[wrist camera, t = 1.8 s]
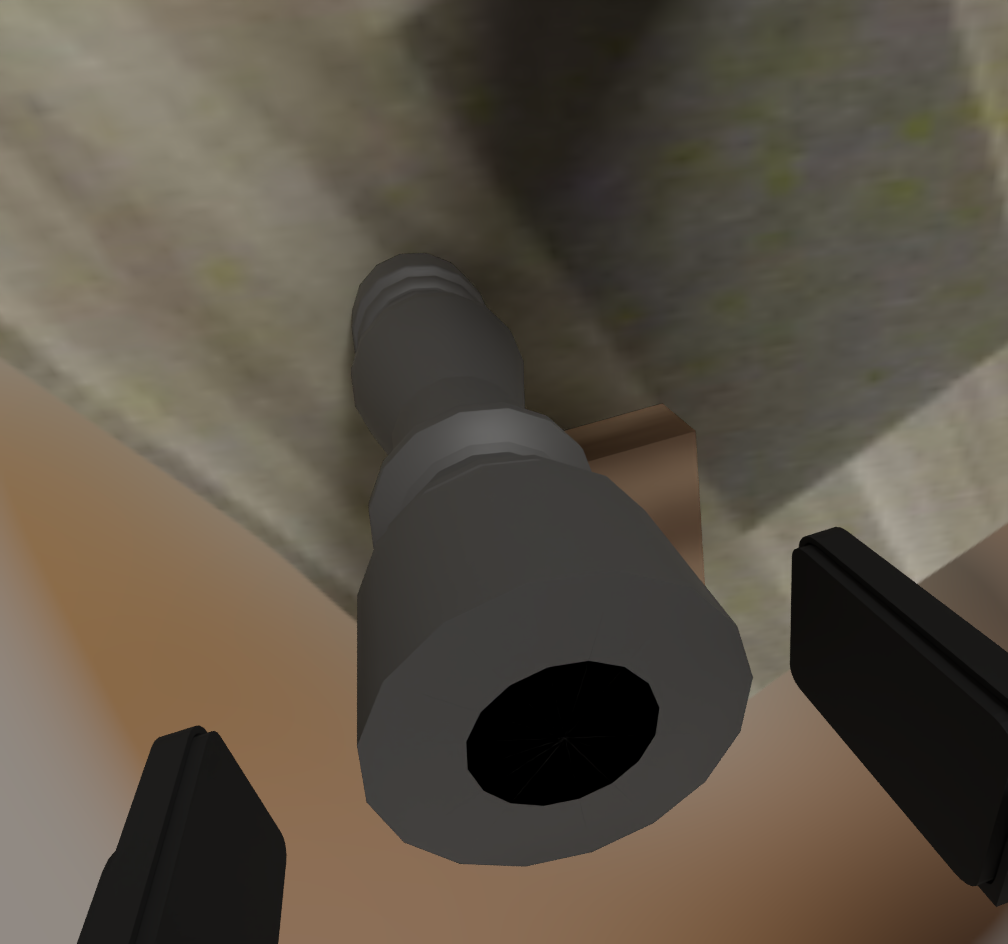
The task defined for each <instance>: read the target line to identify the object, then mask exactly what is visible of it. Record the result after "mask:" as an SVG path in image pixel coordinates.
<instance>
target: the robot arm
mask: <svg viewBox="0 0 1008 944" xmlns="http://www.w3.org/2000/svg"><path fill="white" fill-rule="evenodd" d="M790 669H791V673H792V676H793V678H794V680H795V682H796V683H797V685H798V687H799V688H800V690H801V691H802V692H803V693H804V694H805V695H806V697H807V698H808V699H809V700H810V701H811V703H812V704H813V705H814V706H815V707H816V709H817V710H818V711H819V712H820V713H821V715H822V716H823V717H824V718H825V719H826V721H827V722H828V723H829V724H830V725H831V726H832V728H833V729H834V730H835V731H836V732H837V733H838V735H839V736H840V737H841V738H842V740H843V741H844V742H845V743H846V744H847V745H848V747H849V748H850V749H851V750H852V751H853V753H854V754H855V755H856V756H857V757H858V759H859V760H860V761H861V762H862V763H863V764H864V766H865V767H866V768H867V769H868V770H869V772H870V773H871V774H872V775H873V776H874V778H875V779H876V780H877V781H878V782H879V783H880V785H881V786H882V787H883V788H884V790H885V791H886V792H887V793H888V794H889V795H890V797H891V798H892V799H893V800H894V801H895V803H896V804H897V805H898V806H899V807H900V809H901V810H902V811H903V812H904V813H905V814H906V816H907V817H908V818H909V819H910V820H911V822H913V824H914V825H915V826H916V828H917V829H918V830H919V831H920V832H921V833H922V834H923V836H924V837H925V838H926V839H927V841H928V842H929V843H930V844H931V845H932V847H933V848H934V849H935V850H936V851H937V853H938V854H939V855H940V856H941V857H942V858H943V860H944V861H945V862H946V863H947V864H948V866H949V867H950V868H951V869H952V870H953V872H954V873H955V874H956V875H957V876H958V877H959V878H960V879H961V880H963V881H964V882H965V883H966V884H968V885H970V886H977V885H978V886H979V887H980V889H981V890H982V891H983V892H984V893H985V894H986V896H987V897H988V898H989V899H990V900H991V901H992V903H993V904H994V905H995V906H996V907H997V906H1000V905H1002V904H1005V903H1007V902H1008V652H1006V651H1005V650H1004V649H1002V648H1001V647H1000V646H999V645H997V644H996V643H995V642H993V641H992V640H991V639H989V638H988V637H987V636H985V635H984V634H983V633H981V632H980V631H979V630H977V629H976V628H975V627H973V626H972V625H971V624H969V623H968V622H967V621H965V620H964V619H963V618H961V617H960V616H959V615H957V614H956V613H955V612H953V611H952V610H951V609H949V608H948V607H947V606H945V605H944V604H943V603H942V602H940V601H939V600H937V599H936V598H935V597H934V596H932V595H931V594H930V593H928V592H927V591H926V590H924V589H923V588H921V587H920V586H919V585H918V584H916V583H915V582H914V581H912V580H911V579H910V578H908V577H907V576H906V575H904V574H903V573H902V572H901V571H899V570H898V569H897V568H895V567H894V566H893V565H891V564H890V563H889V562H887V561H886V560H885V559H883V558H882V557H881V556H879V555H878V554H877V553H875V552H874V551H873V550H871V549H870V548H869V547H867V546H866V545H865V544H863V543H862V542H861V541H859V540H858V539H857V538H856V537H854V536H853V535H852V534H850V533H849V532H848V531H846V530H844V529H843V528H840V527H834V528H831V529H827V530H824V531H821V532H818V533H814V534H811V535H808V536H805V537H803V538H802V539H801V540H800V543H799V548H797V549H795V550H794V551H793V553H792V582H791V637H790ZM285 869H286V847H285V842H284V838H283V836H282V833H281V832H280V830H279V829H278V827H277V825H276V824H275V822H274V821H273V819H272V817H271V816H270V814H269V813H268V811H267V810H266V808H265V806H264V805H263V803H262V802H261V800H260V798H259V797H258V795H257V794H256V792H255V790H254V789H253V787H252V786H251V784H250V782H249V781H248V779H247V778H246V776H245V775H244V773H243V772H242V770H241V768H240V767H239V765H238V763H237V762H236V761H235V759H234V757H233V755H232V754H231V752H230V751H229V749H228V748H227V746H226V744H225V743H224V741H223V740H222V738H221V737H220V735H219V734H218V733H217V732H215V731H211V732H208V733H207V731H206V730H205V729H204V728H203V727H201V726H194V727H191V728H187V729H184V730H181V731H178V732H175V733H171V734H168V735H165V736H162V737H159V738H158V739H156V740H155V742H154V744H153V745H152V747H151V750H150V754H149V756H148V759H147V762H146V765H145V767H144V770H143V773H142V776H141V779H140V782H139V785H138V788H137V791H136V793H135V796H134V800H133V802H132V805H131V808H130V811H129V814H128V817H127V819H126V822H125V825H124V828H123V831H122V834H121V837H120V840H119V843H118V845H117V848H116V851H115V852H114V853H113V854H112V856H111V857H110V858H109V859H108V861H107V863H106V865H105V867H104V870H103V872H102V874H101V877H100V880H99V883H98V885H97V888H96V891H95V894H94V897H93V900H92V902H91V905H90V908H89V911H88V914H87V917H86V919H85V922H84V925H83V928H82V931H81V933H80V936H79V939H78V942H77V944H278V940H279V930H280V920H281V909H282V898H283V889H284V879H285Z"/></svg>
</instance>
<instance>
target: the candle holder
mask: <svg viewBox="0 0 1008 944" xmlns="http://www.w3.org/2000/svg"><path fill="white" fill-rule="evenodd" d="M352 333H353V341H354V349H355V358H354V361H353V364H352V367H351V376H352V384H353V392H354V400H355V407H356V408H357V410H358V412H359V413H360V415H361V417H362V419H363V420H364V422H365V424H366V425H367V427H368V429H369V430H370V432H371V434H372V435H373V436H374V438H375V439H376V440H377V441H378V443H379V444H380V445H381V447H382V448H383V449H384V450H385V452H386V453H387V454H388V456H387V457H386V458H385V459H384V460H383V463H382V466H381V469H380V472H379V474H378V477H377V480H376V483H375V486H374V489H373V492H372V495H371V498H370V501H369V516H370V524H371V532H372V540H373V548H374V550H373V553H372V556H371V559H370V561H369V564H368V567H367V570H366V573H365V575H364V578H363V581H362V584H361V586H360V589H359V592H358V595H357V748H358V754H359V760H360V766H361V772H362V778H363V783H364V790H365V796H366V801H367V803H368V804H369V805H370V806H371V807H372V809H373V810H374V811H375V812H376V813H377V814H378V815H379V816H380V817H381V818H382V819H383V820H384V821H385V822H386V824H387V825H388V826H389V827H390V828H391V829H392V830H393V831H394V832H395V833H396V834H397V835H398V836H399V837H400V839H402V841H403V842H404V843H407V844H410V845H412V846H415V847H417V848H420V849H423V850H425V851H428V852H431V853H433V854H436V855H438V856H441V857H444V858H446V859H449V860H451V861H454V862H456V863H459V864H476V865H477V864H478V865H501V866H502V865H503V866H530V865H534V864H539V863H544V862H548V861H553V860H557V859H562V858H567V857H571V856H576V855H581V854H585V853H589V852H593V851H595V850H597V849H599V848H602V847H604V846H606V845H608V844H610V843H612V842H614V841H616V840H618V839H620V838H623V837H625V836H627V835H629V834H631V833H633V832H636V831H637V830H640V829H642V828H644V827H646V826H648V825H650V824H653V823H654V822H655V821H657V820H658V819H659V818H660V817H662V816H663V815H664V814H665V813H667V812H668V811H669V810H671V809H672V808H673V807H674V806H675V805H677V804H678V803H679V802H680V801H682V800H683V799H684V798H685V797H687V796H688V795H689V794H690V793H692V792H693V791H694V790H695V789H697V788H698V787H699V786H700V785H702V784H703V783H704V782H705V781H706V780H707V778H708V777H709V775H710V774H711V773H712V771H713V769H714V768H715V767H716V766H717V764H718V763H719V761H720V760H721V758H722V757H723V756H724V754H725V753H726V751H727V750H728V748H729V747H730V746H731V744H732V743H733V741H734V740H735V738H736V737H737V736H738V734H739V733H740V731H741V726H742V722H743V718H744V713H745V709H746V705H747V701H748V696H749V692H750V688H751V683H752V679H753V676H752V673H751V670H750V667H749V663H748V660H747V657H746V653H745V650H744V647H743V644H742V640H741V637H740V634H739V630H738V627H737V625H736V624H735V623H734V622H733V620H732V619H731V618H730V617H729V615H728V614H727V613H726V612H725V610H724V609H723V608H722V606H721V605H720V604H719V603H718V601H717V600H716V599H715V598H714V596H713V595H712V594H711V593H710V591H709V590H708V589H707V588H706V586H705V585H704V584H703V583H702V581H701V580H700V579H699V578H698V576H697V575H696V574H695V573H694V571H693V570H692V569H691V568H690V566H689V565H688V564H687V562H686V561H685V560H684V559H683V557H682V556H681V555H680V554H679V552H678V551H677V550H676V549H675V547H674V546H673V545H672V544H671V542H670V541H669V540H668V539H667V537H666V536H665V535H664V534H663V532H662V531H661V530H660V529H659V527H658V526H657V525H656V523H655V522H654V521H653V520H652V518H651V517H650V516H649V515H648V513H647V512H646V511H645V510H644V509H643V508H642V507H641V506H640V505H638V504H637V503H636V502H635V501H634V500H633V499H632V498H631V497H629V496H628V495H627V494H626V493H625V492H624V491H623V490H622V489H620V488H619V487H618V486H617V485H616V484H615V483H614V482H612V481H611V480H610V479H609V478H608V477H607V476H605V475H601V474H598V473H594V472H592V471H591V468H590V466H589V463H588V461H587V458H586V456H585V453H584V451H583V449H582V447H581V446H580V445H579V444H578V443H577V442H576V441H575V440H574V439H573V438H571V437H570V436H569V435H568V434H567V433H566V432H565V431H564V430H562V429H561V428H560V427H559V426H558V425H557V424H556V423H555V422H554V421H552V420H551V419H550V418H549V417H548V416H546V415H543V414H540V413H537V412H534V411H531V410H527V409H525V398H524V361H523V359H522V356H521V354H520V352H519V349H518V347H517V345H516V342H515V340H514V337H513V335H512V333H511V331H510V330H509V328H508V327H507V326H506V325H505V324H504V323H503V322H502V321H501V320H499V319H498V318H497V317H496V316H495V315H494V314H493V313H492V312H491V311H490V310H489V309H488V308H487V307H486V305H485V303H484V301H483V299H482V296H481V294H480V293H479V291H478V290H477V289H476V288H475V287H474V285H473V284H472V283H471V282H470V281H469V280H468V279H467V278H466V277H465V276H464V275H463V274H462V273H461V272H460V271H459V270H458V269H457V268H456V267H455V266H454V265H453V264H452V263H451V262H448V261H446V260H443V259H440V258H438V257H435V256H433V255H430V254H427V253H413V254H399V255H397V256H395V257H393V258H391V259H389V260H387V261H385V262H382V263H380V264H378V265H376V267H375V268H374V269H373V270H372V271H371V272H370V274H369V275H368V276H367V277H366V278H365V280H364V281H363V282H362V283H361V284H360V286H359V289H358V293H357V296H356V299H355V303H354V306H353V310H352Z"/></svg>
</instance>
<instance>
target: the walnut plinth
mask: <svg viewBox="0 0 1008 944" xmlns="http://www.w3.org/2000/svg"><path fill="white" fill-rule="evenodd" d="M565 432H566V433H567V434H568V435H569V436H570V437H571V438H573V439H574V440H575V441H576V442H577V443H578V444H579V445H580V446H581V447H582V449H583V451H584V453H585V456H586V458H587V461H588V463H589V466H590V468H591V471H592V472H594V473H598V474H601V475H605V476H607V477H608V478H609V479H610V480H611V481H612V482H614V483H615V484H616V485H617V486H618V487H619V488H620V489H622V490H623V491H624V492H625V493H626V494H627V495H628V496H629V497H631V498H632V499H633V500H634V501H635V502H636V503H637V504H638V505H640V506H641V507H642V508H643V509H644V510H645V511H646V512H647V513H648V515H649V516H650V517H651V518H652V520H653V521H654V522H655V523H656V525H657V526H658V527H659V529H660V530H661V531H662V532H663V534H664V535H665V536H666V537H667V539H668V540H669V541H670V542H671V544H672V545H673V546H674V547H675V549H676V550H677V551H678V552H679V554H680V555H681V556H682V557H683V559H684V560H685V561H686V562H687V564H688V565H689V566H690V568H691V569H692V570H693V571H694V573H695V574H696V575H697V576H698V578H699V579H700V580H701V581H702V583H703V584H704V585H705V580H704V563H703V547H702V530H701V513H700V497H699V480H698V463H697V447H696V431H695V430H694V429H693V428H691V427H690V426H689V425H688V424H687V423H685V422H684V421H683V420H682V419H681V418H679V417H678V416H677V415H676V414H675V413H673V412H672V411H671V410H670V409H669V408H667V407H666V406H665V405H664V404H663V403H662V404H658V405H655V406H651V407H648V408H644V409H640V410H637V411H633V412H630V413H626V414H623V415H619V416H615V417H612V418H608V419H605V420H601V421H598V422H594V423H590V424H587V425H583V426H580V427H576V428H573V429H569V430H565Z"/></svg>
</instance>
